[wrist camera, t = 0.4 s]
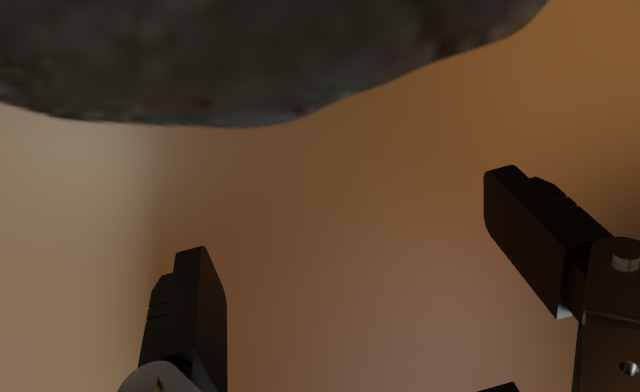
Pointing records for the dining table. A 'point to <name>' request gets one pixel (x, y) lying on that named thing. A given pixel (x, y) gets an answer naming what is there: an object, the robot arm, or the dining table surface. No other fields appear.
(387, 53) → the dining table surface
